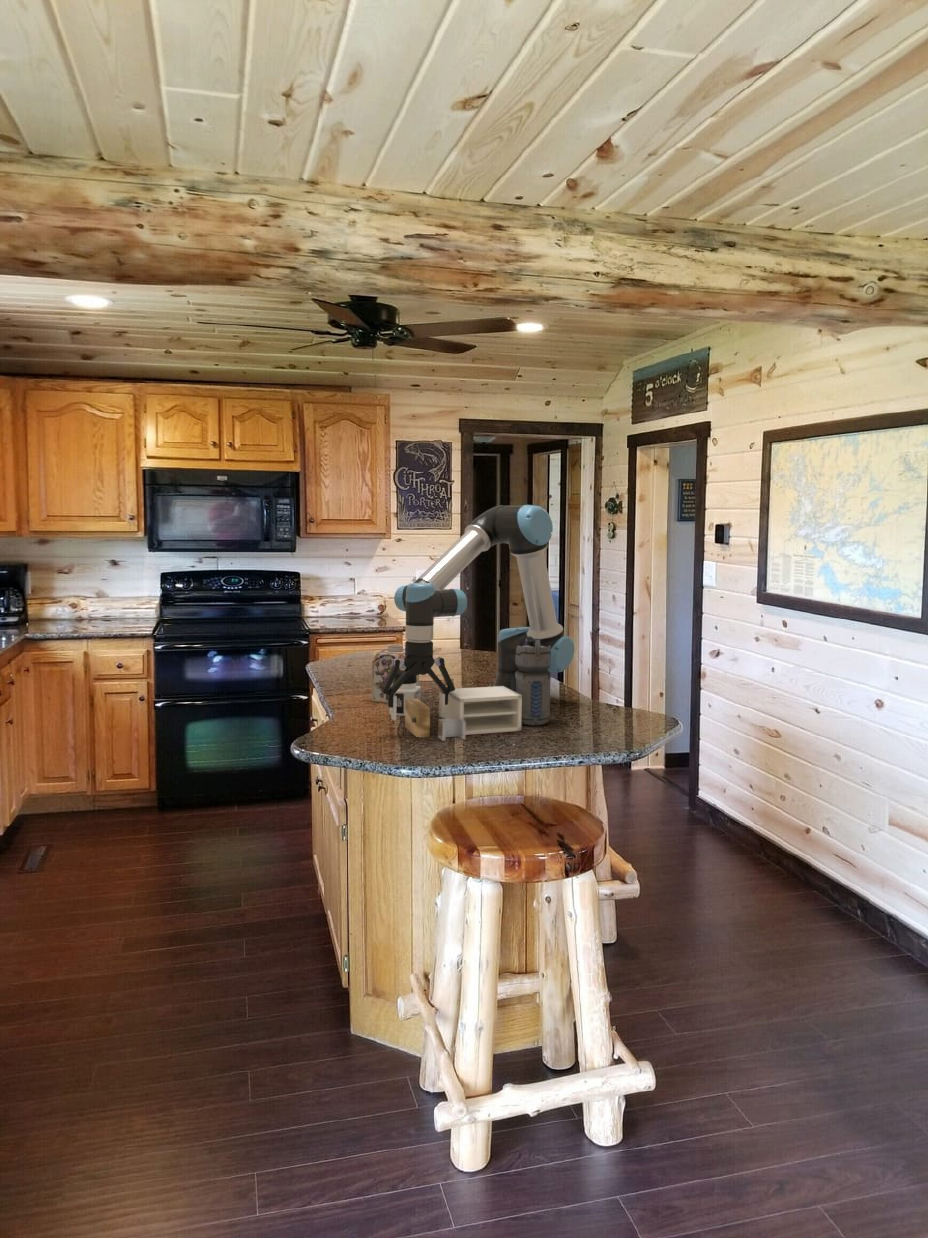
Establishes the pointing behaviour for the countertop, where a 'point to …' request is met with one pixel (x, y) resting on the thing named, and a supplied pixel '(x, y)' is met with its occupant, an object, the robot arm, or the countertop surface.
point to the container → (406, 692)
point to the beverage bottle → (533, 681)
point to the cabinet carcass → (486, 709)
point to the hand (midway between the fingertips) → (417, 718)
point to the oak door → (417, 718)
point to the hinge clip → (451, 728)
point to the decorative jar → (385, 670)
